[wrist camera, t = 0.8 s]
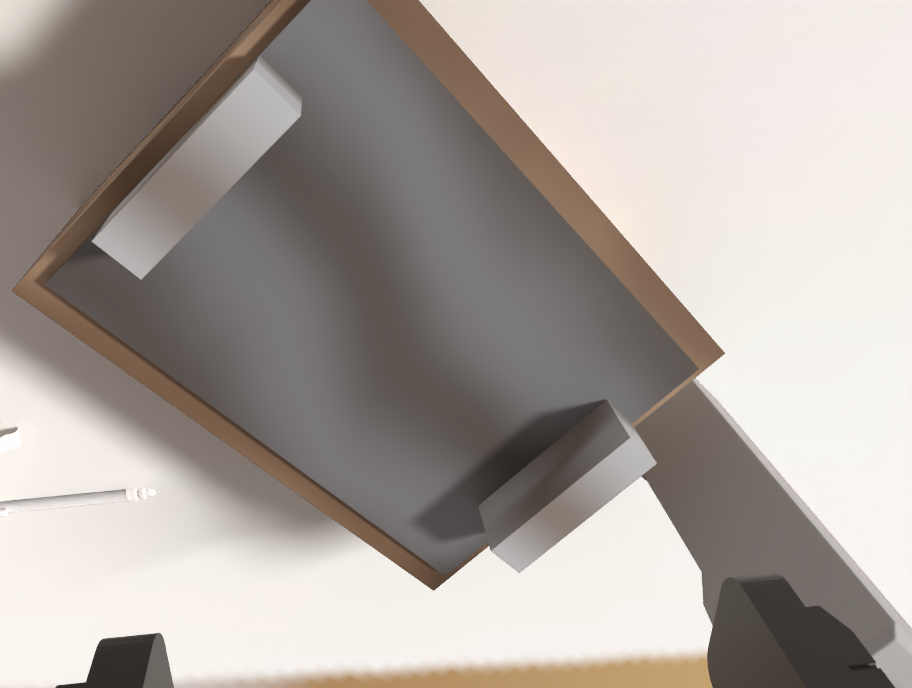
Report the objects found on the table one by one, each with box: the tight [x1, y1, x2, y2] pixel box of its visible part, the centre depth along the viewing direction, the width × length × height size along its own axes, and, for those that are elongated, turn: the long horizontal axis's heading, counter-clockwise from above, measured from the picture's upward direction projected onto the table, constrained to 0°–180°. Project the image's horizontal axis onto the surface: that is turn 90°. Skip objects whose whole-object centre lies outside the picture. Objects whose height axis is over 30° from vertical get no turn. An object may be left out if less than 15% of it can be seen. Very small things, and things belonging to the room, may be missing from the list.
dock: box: [12, 0, 725, 591], centre depth 28 cm, size 14×18×10 cm
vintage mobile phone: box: [634, 378, 912, 688], centre depth 28 cm, size 4×5×25 cm
